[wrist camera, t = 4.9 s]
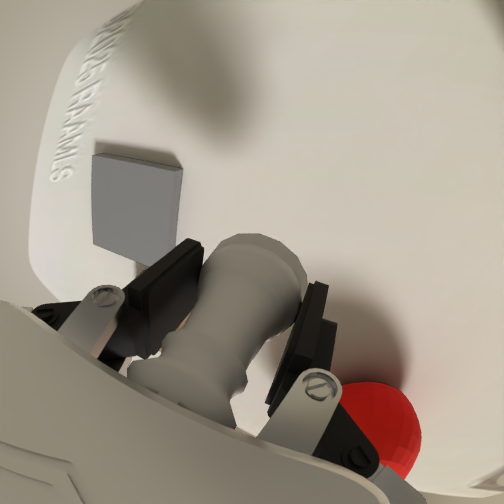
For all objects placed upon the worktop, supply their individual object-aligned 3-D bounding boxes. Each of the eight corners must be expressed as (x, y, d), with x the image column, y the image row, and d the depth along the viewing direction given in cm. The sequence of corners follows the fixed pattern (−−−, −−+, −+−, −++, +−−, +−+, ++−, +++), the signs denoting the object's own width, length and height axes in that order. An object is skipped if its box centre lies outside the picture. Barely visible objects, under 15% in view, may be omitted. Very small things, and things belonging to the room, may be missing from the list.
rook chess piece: (231, 321, 14) (145, 453, 8) (197, 239, 13) (64, 356, 6) (320, 313, 13) (269, 485, 6) (294, 218, 11) (193, 377, 4)
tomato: (336, 440, 28) (322, 518, 18) (272, 388, 26) (239, 480, 17) (433, 403, 22) (441, 494, 13) (383, 336, 21) (389, 454, 11)
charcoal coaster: (102, 153, 21) (92, 155, 20) (183, 168, 20) (174, 171, 19) (101, 239, 25) (93, 244, 24) (173, 266, 23) (166, 273, 22)
